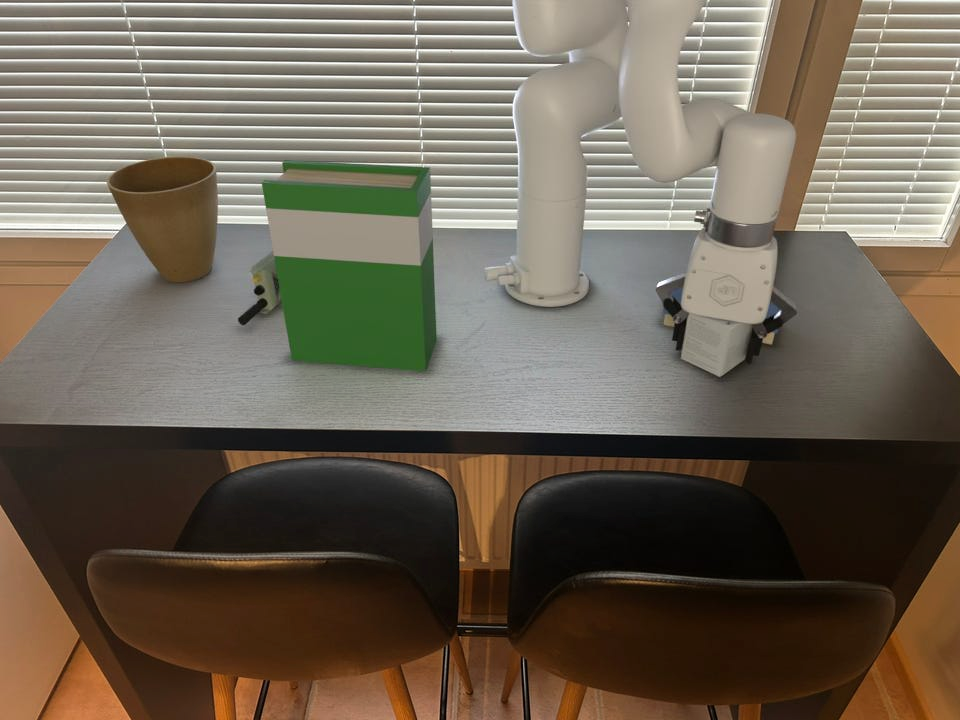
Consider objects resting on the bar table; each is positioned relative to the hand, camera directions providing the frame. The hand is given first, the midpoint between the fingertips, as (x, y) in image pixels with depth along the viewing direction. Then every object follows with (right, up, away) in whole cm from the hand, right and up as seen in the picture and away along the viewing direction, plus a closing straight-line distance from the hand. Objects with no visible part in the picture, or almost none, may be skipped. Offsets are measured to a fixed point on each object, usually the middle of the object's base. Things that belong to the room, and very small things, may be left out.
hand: (713, 351), depth 98 cm
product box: (0, -1, +1) cm, 2 cm away
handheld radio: (-59, +10, +16) cm, 62 cm away
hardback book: (-45, 0, +3) cm, 45 cm away
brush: (+3, +4, +8) cm, 9 cm away
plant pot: (-76, +13, +21) cm, 80 cm away
